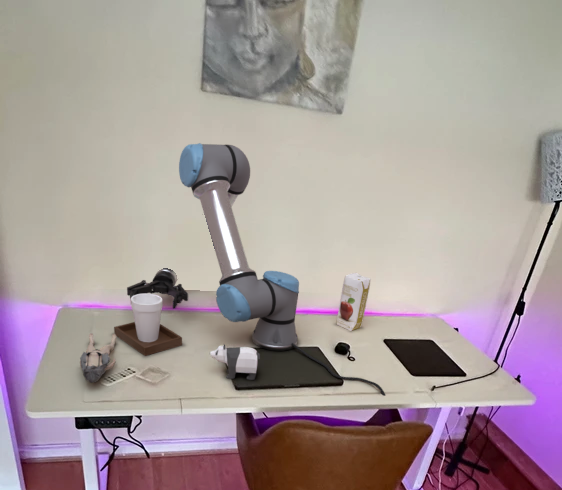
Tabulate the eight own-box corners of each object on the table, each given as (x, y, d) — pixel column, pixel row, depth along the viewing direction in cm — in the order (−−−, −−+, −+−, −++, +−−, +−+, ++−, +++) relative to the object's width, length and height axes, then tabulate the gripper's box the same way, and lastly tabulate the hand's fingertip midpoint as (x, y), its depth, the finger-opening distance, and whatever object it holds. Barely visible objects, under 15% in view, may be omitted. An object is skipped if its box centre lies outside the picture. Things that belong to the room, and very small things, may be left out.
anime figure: (118, 328, 160) (109, 363, 134) (119, 350, 163) (111, 389, 137) (85, 327, 158) (70, 362, 132) (87, 350, 161) (72, 389, 135)
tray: (182, 345, 165) (182, 337, 164) (145, 356, 157) (144, 347, 155) (150, 325, 175) (150, 317, 174) (114, 334, 166) (113, 326, 165)
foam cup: (155, 346, 161) (154, 307, 154) (127, 341, 162) (125, 301, 155) (167, 334, 169) (166, 296, 162) (140, 329, 170) (139, 291, 163)
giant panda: (258, 371, 156) (261, 343, 151) (258, 381, 152) (261, 351, 146) (209, 368, 155) (210, 339, 149) (208, 377, 150) (209, 348, 145)
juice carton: (345, 319, 198) (354, 271, 188) (363, 328, 193) (374, 278, 183) (333, 324, 193) (342, 274, 183) (351, 332, 188) (361, 282, 178)
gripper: (199, 294, 189) (191, 317, 171) (130, 287, 187) (114, 309, 169) (200, 274, 185) (191, 295, 167) (129, 266, 183) (113, 287, 165)
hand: (152, 302), depth 168 cm, fingers open, 13 cm apart
